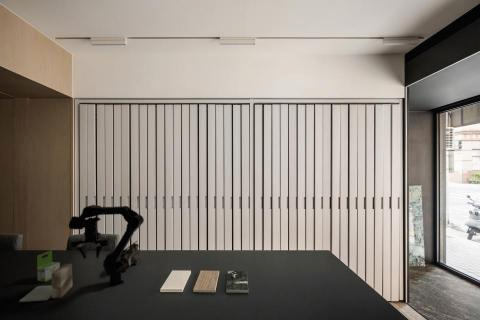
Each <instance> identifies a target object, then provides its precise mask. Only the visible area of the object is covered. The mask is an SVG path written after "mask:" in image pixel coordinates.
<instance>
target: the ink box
mask: <svg viewBox="0 0 480 320" xmlns="http://www.w3.org/2000/svg"><path fill="white" fill-rule="evenodd" d="M45 255H47V256H45ZM44 256H45V257H44ZM36 260H37V261H36V263H37V264H36V266H37V267H36V269H37V270H36V273H37V274H36V277H37V282H41V283H46V282H48V281H51V280H52V273H53V272H54V271H56V270H57V269H58V268H59V267H61V264H60V262H57V261H53V250H52V249H51V250H48V251H46V252H44V253H41V254H38V255H37V259H36Z"/></svg>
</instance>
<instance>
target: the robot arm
mask: <svg viewBox="0 0 480 320" xmlns="http://www.w3.org/2000/svg"><path fill="white" fill-rule="evenodd" d="M105 215H112V216H113V215H121V216H122V217H123V219H124V221H126V223H127V224H126V227H125V228H126V229H125V232H124V233H123V235H122V237H121V238H120V240H119V241H118V243H117V244H116V246H115V249H114V250H112V251H111V252H109V253H107V255H106V256H105V259H104V260H103V261H102V262H103V263H102V266H103V268H104V270H105V272H106V275H109V281H106V283H107V284H108V285H109V286H111V287H115V286H118V285H120V284H124V283H125V280H123V279H122V271H121V269H123V267H124V264H123V263H122V262H121V261H120V259H121V254H122V252H123V251H124V250H125V249H126V248H127V247H128V246H127V245H128V244H129V243H130V240H131V238H132V237H133V235H134V233H135V232H136V231H137V230H139V228H140V227H141V226H142V225H143V223H144V222H145V220H144V217H143V216H142V215H141V214H139V213H138V212H137V211H135V210H133V209H131V208H130V206H127V205H124V206H101V205H97V204H91V205H88V206H84V207H83V209H82V212H81V213H80V215H79V216H77V215H75V216H71V218H70V221H69V222H68V228H69V229H70V230H83V229H84V232H83V235H84V240H83V239H82V238H75V239H74V240H72V241H70V245H69V247H70V248H75V249H76V250H78V251H79V252H80V254H81V255H82V257H83V259H84V260H86V259H87V251H86V250H87V249H86V247H87V245H97V246H96V247H95V250H96V251H95V254H96V255H95V256H96V259H99V257H100V254H101V250H102V248H104V247H107V246H109V245H110V244H111V243H112V240H111V239H112V238H110V237H102V238H101V236H102V235H101V234H102V232H98V231H99V230H98V226H97V225H98V223H97V222H99V221H101V220H102V219H101V218H100V217H99V216H105Z"/></svg>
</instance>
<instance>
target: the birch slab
mask: <svg viewBox="0 0 480 320" xmlns="http://www.w3.org/2000/svg"><path fill="white" fill-rule="evenodd" d="M51 285H52V296H51V299H62V298H63V297H64V296H65V295H66V294H67V293H68V292H69V291H70V289H72V288H73V264H72V263H64V264H62V265H60V267H59V268H58V269H57V270H56V271H54V272H53V273H52V279H51Z"/></svg>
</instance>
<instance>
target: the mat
mask: <svg viewBox="0 0 480 320" xmlns="http://www.w3.org/2000/svg"><path fill="white" fill-rule="evenodd" d="M51 298H52V284H51V285H39V286H36V287H35V288H34V289H32V290H31V291H30V292H28V293H27V294H26V295H25V296H24V297H22V298H21V299H20V300H19V303H25V302H26V303H27V302H41V301H48V300H49V299H51Z"/></svg>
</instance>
